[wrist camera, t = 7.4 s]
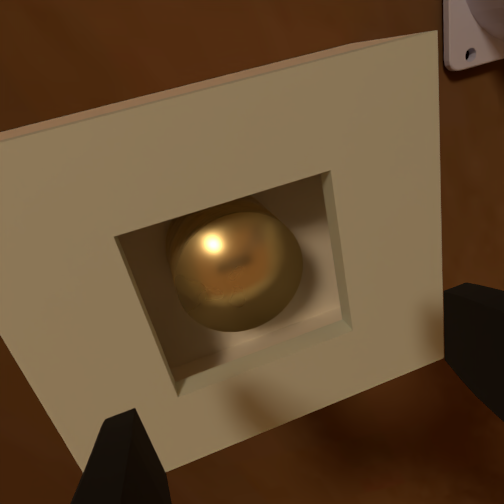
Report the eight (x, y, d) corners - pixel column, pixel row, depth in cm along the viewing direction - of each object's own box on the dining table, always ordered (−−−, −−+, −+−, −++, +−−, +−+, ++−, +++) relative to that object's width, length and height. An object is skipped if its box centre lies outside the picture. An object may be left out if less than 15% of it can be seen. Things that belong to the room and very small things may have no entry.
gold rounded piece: (288, 202, 17) (320, 226, 14) (256, 299, 18) (280, 337, 16) (180, 176, 15) (194, 199, 13) (154, 284, 17) (161, 325, 14)
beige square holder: (350, 43, 16) (437, 30, 12) (376, 299, 21) (443, 358, 17) (-29, 139, 14) (-100, 168, 9) (104, 401, 19) (99, 499, 15)
